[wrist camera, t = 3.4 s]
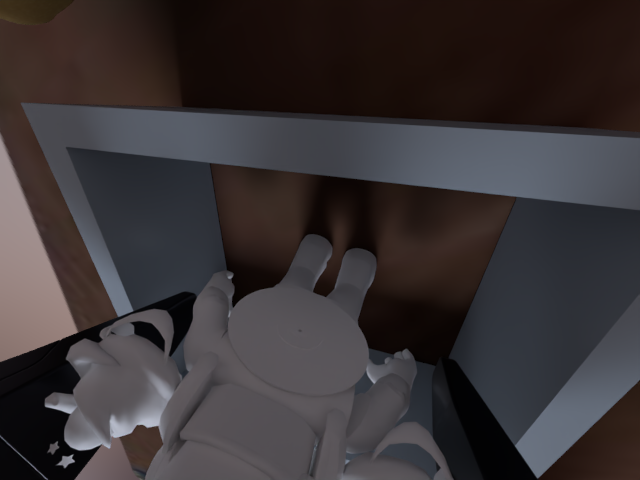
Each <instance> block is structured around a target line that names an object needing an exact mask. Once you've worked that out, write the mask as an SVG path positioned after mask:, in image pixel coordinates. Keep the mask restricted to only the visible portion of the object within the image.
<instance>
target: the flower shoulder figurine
mask: <svg viewBox="0 0 640 480" xmlns="http://www.w3.org/2000/svg"><path fill="white" fill-rule="evenodd" d="M331 256H332V246H331V244H330V242H329V241H328V240H327V239H326V238H324V237H322V236H319V235H315V234H309V235H306V236H305V238H304V239H303V240H302V241H301V243H300V245H299V248H298V251H297V252H296V254H295V257H294V259H293V261H292V263H291V266H290V268H289V271H288V272H287V274H286V275H285V277H284V278H283V279H282V281H281V282H280V283H279V284H276V285H275V287H274V288H267V289H262V290H258V291H255V292H253V293H251V294H249V295H247V296H245V297H244V298H242V299H241V300H240V301H239V302H238V303H237V304H236V305H235V307H234V308H233V307H232V296H233V294H234V288H235V287H234V285H233V283H232V280H231V279H230V278H232V277H233V273H232V272H230V271H226V270H225V271H221V272H217V273H214V274H213V276H212V278H211V280H210V281H209V282H208V283H207V284H206V286H205V287H204V289H203V290H202V292H201V293H200V294H199V295H198V297H197V299H196V301H195V303H194V305H193V320H192V323H191V326H190V328H189V331H188V333H187V336H186V338H185V341H184V345H183V350H184V360H185V364H186V369H187V370H188V371H189V372H188V374H187V375H186V376H185V377H184V378H183V380H182V375H181V374H180V373H179V371H178V368H177V365H176V362H175V361H174V360H173V359H172V358H171V357H170V356H168V355H169V352H170V349H171V344H172V339H173V334H174V329H173V322H172V318H171V316H170V315H169V314H168V312H167V311H165V310H159V309H151V310H147V311H143V312H139V313H135V314H131V315H129V316H127V317H125V318H123V319H121V320H118V321H116V322H115V323H114V324H113V325H111V326H108V327H105V328H104V329H102V330H101V332H100V335H99V336H100V337H101V338H102V339H103V340H102V341H101V342H100V343H96V342H93V341H91V340H88V339H83V340H81V341H79V342H78V343H76V344H74V345H72V346H71V347H70V350H69V352H68V355H67V357H66V360H68V361H69V362H70V363H71V365H72V366H73V367H74V369H75V370H76V371H77V373H78V374H79V376H80V378H81V380H80V381H79V382H78V384H77V385H76V387H75V388H74V390H73V393H74V394H64V393H56V392H54V393H52V394H51V395H50V396H48V397H47V398H45V407H49V408H53V409H57V410H61V411H63V412H66V413H69V414H71V415H70V416H69V419H68V421H67V423H66V426H65V429H64V438H65V441H66V443H67V444H68V445H69V446H70V447H72V448H74V449H77V450H89V449H93V448H95V447H97V446H99V445H101V444H103V445H104V446H106V447H108V448H109V449H110V446H111V441H112V438H111V436H113V437H114V438H116V437H120V436H124V435H127V434H130V433H132V431H133V430H134V428H135V427H136V425H142V424H143V425H144V426H146V427H147V428H148V427H153V426H159V430H160V433H161V437H162V441H163V446H162V447H161V448H160V450H159V451H158V452H157V454H156V455H155V457H154V459H153V460H152V462H151V464H150V467H149V469H148V471H147V474H146V478H145V480H432V479H431V478H430V476H429V475H428V473H427V472H426V470H424V469H423V468H421V467H419V466H417V465H415V464H413V463H411V462H409V461H407V460H403V459H399V458H395V457H391V456H386V455H382V454H379V453H380V452H382V451H383V450H384V449H385V448H386V447H387V446H388V445H390V444H398V443H411V444H418V445H419V446H420V447H422V448H423V449H424V450H426V451H427V452H428V453H430V454H431V455H432V457H433V458H434V459H435V461H436V462H437V463H438V465H439V466H440V467H441V468H440V470H439V471H438V472H437V473H436V474H435V476H434V479H433V480H454V479H453V477H452V475H451V472H450V470H449V467H448V465H447V462H446V460H445V457H444V455H443V454H442V452H441V451H440V449H439V447H438V446H437V444H436V443H435V441H434V439H433V438H432V436H431V434H430V433H429V431H428V430H426V429H425V428H424V427H422V426H421V425H420V424H418V423H417V422H403V423H402V424H400V425H398V426H396V427H395V425H396V423H397V422H398V421H399V420H400V418H401V417H402V416H403V415H405V414H406V412H407V410H408V408H409V404H410V391H411V389H412V384H413V380H414V378H415V376H416V374H417V367H416V362H415V359H414V357H413V355H412V354H411V352H410V351H409V350H408V349H405V350H403V351H402V352H401V351H400V352H396V353H395V354H394V359H392V358H391V357H387V358H386V359H385V364H382V365H375V364H373V362H372V360H370V359H369V350H368V345H367V342H366V339H365V337H364V335H363V333H362V331H361V329H360V328H359V326H358V317H359V315H360V311H361V308H362V304H363V300H364V298H365V295H366V292H367V290H368V288H369V287H370V286H371V284H372V282H373V280H374V276H375V272H376V267H377V262H376V257H375V256H374V255H373V254H372V253H371V252H369V251H367V250H364V249H360V248H353V249H350V250H348V251H346V253H345V255H344V257H343V259H342V266H341V269H340V271H339V275H338V278H337V281H336V285H335V288H334V290H333V291H332V292H331V293H330V294H329V295H328V296H327V297H324V296H321V295H318V294H316V293H313V289H314V287H315V284H316V282H317V280H318V278H319V276H320V275H321V274H322V273H323V271H324V270H325V268H326V267H327V261H328V260H329V259H330V257H331ZM228 317H229V320H228ZM136 321H143V322H148V323H152V324H153V325H154V326H155V327H156V328H157V329H158V330H159V332H160V333H161V335H162V337H163V338H164V340H165V352H163V351H162V350H161V349H160V348H158V347H157V346H156V345H154V344H153V343H152V342H150V341H149V340H148V339H146V338H143V337H140V336H138V335H135V334H134V325H132V324H131V323H130V322H136ZM227 322H228V328H227ZM111 331H112V332H113V333H115V334H116V335H115V334H111ZM365 371H367V375H368V377H369V378H370V379H371V381H372V382H373V383H374V384H373V386H372V387H371V388H370V389H369V390H368V391H367V392H366V393H365V394H364V393H360V394H357V395H355V396H354V393H355V384H356V383H357V382H358V381H359V380H360V379H361V377H362V376H363V375H364V373H365ZM394 427H395V428H394ZM57 443H58V441H57V442H56V443H55V444H50V449H49V450H48V452H51V453H52V454H54V452H55V450H56V449H58V448H59V447H58V446H57ZM315 445H316V447H315V449H314V446H315ZM375 449H376V450H375ZM373 450H375V452H374V453H372V452H369V451H373ZM48 452H47V453H48ZM346 452H348V453H353V454H357V453H363V454H362V455H360V456H358V457H356V458H354V459H352V460H351V461H349V462H348V463H347V464H345V462H346ZM73 455H74V454H73ZM73 455H71V456H69V457H65V456H62V461H61V462H60V463H58V464H57V465H63V466H64V468H66V466H67V465H68V464H70V463H73V462H75V461H74V460H73V459H72V457H73Z"/></svg>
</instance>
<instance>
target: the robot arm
mask: <svg viewBox="0 0 640 480" xmlns="http://www.w3.org/2000/svg"><path fill="white" fill-rule="evenodd" d="M196 299H197V296H196V294H195V293H192V292H188V291H184V292H181V293H178V294H176V295H173V296H171V297H168V298H166V299H163V300H160V301H158V302H155V303H153V304H150V305H148V306H145V307H143V308H140V309H137V310H135V311H132V312H130V313H127V314H125V315H122V316H119V317H117V318H114V319H112V320H109V321H107V322H104V323H102V324H99V325H96V326H94V327H91V328H89V329H86V330H84V331H81V332H79V333H76V334H73V335H71V336H68V337H66V338H63V339H62V340H58V341H56V342H53V343H50V344H48V345H45V346H43V347H40V348H37V349H35V350H33V351H29V352H27V353H24V354H22V355H19V356H16V357H13V358H10V359H8V360H5V361H2V362H0V480H74V479H75V478H76V477H77V476H78V474H79V473H80V472H81V471H82V469H83V468H84V467H85V465H86V464H87V463H88V462H89V460H90V459H91V458H92V457H93V455H94V454H95V453H96V452H97V450H98V449H99V448H100V446H101V445H102V444H101V445H99V446H97V447H95V448H93V449H89V450H77V449H74V448H72V447H70V446H69V445H68V444H67V443H66V441H65V438H64V429H65V426H66V423H67V421H68V419H69V416H70V415H71V414H69V413H66V412H63V411H61V410H57V409H53V408H49V407H45V398H47V397H48V396H50V395H51V394H52V393H54V392H56V393H64V394H74V393H73V390H74V388H75V387H76V385H77V384H78V382H79V381H80V380H81V378H80V376H79V374H78V373H77V371H76V370H75V369H74V367H73V366H72V365H71V363H70V362H69V361H68V360H66V357H67V355H68V352H69V350H70V347H71V346H72V345H74V344H76V343H78V342H79V341H81V340H83V339H88V340H91V341H93V342H96V343H100V342H101V341H102V340H103V339H102V338H101V337H100V336H99V335H100V332H101V330H102V329H104V328H105V327H108V326H111V325H113V324H114V323H115V322H116V321H118V320H121V319H123V318H125V317H127V316H129V315H131V314H135V313H139V312H143V311H147V310H151V309H159V310H165V311H167V312H168V314H169V315H170V316H171V318H172V322H173V329H174V334H173V339H172V344H171V349H170V352H169V355H168V356H170V357H171V356H172V355H173V353H174V352H175V351H176V349H177V348H178V346H179V345H180V343H181V342H182V340H183V339H184V337H185V335H186V334H187V332H188V331H189V328H190V326H191V323H192V320H193V305H194V303H195V301H196ZM130 323H131V324H132V325H134V334H135V335H138V336H140V337H143V338H146V339H148V340H149V341H150V342H152V343H153V344H154V345H156V346H157V347H158V348H160V349H161V350H162V351H163V352H165V340H164V338H163V337H162V335H161V333H160V332H159V330H158V329H157V328H156V327H155V326H154V325H153V324H152V323H148V322H143V321H136V322H130ZM111 334H115V333H113V332H112V331H111ZM115 335H116V334H115ZM432 426H433V439H434V441H435V443H436V444H437V446H438V447H439V449H440V451H441V452H442V454H443V455H444V457H445V460H446V462H447V465H448V467H449V470H450V472H451V475H452V477H453V479H454V480H538V478H537V477H536V475H535V474H534V473H533V471H532V470H531V468H530V467H529V465H528V464H527V462H526V461H525V460H524V458H523V457H522V455H521V454H520V452H519V451H518V449H517V448H516V447H515V445H514V444H513V442H512V441H511V439H510V438H509V436H508V435H507V434H506V432H505V431H504V429H503V428H502V426H501V425H500V423H499V422H498V421H497V419H496V418H495V416H494V415H493V413H492V412H491V410H490V409H489V408H488V406H487V405H486V403H485V402H484V400H483V399H482V397H481V396H480V395H479V393H478V392H477V390H476V389H475V387H474V386H473V384H472V383H471V382H470V380H469V379H468V377H467V376H466V374H465V373H464V371H463V370H462V369H461V367H460V366H459V364H458V363H457V362H456V361H455V360H454V359H450V358H446V357H440V358H439V359H438V362H437V364H436V367H435V369H434V372H433V375H432ZM57 441H58V443H57V446H58V447H59V448H58V449H56V450H55V452H54V454H52V453H51V452H48V450H49V449H50V444H55V443H56V442H57ZM47 452H48V453H47ZM73 454H74V455H73ZM71 455H73V457H72V459H73V460H74V461H75V462H73V463H70V464H68V465H67V466H66V468H64V466H63V465H57V464H58V463H60V462H61V461H62V456H65V457H69V456H71ZM440 468H441V467H440V466H439V465H438V463H437V462H436V470H437V472H438V471H439V470H440Z"/></svg>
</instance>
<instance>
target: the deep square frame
mask: <svg viewBox="0 0 640 480" xmlns="http://www.w3.org/2000/svg"><path fill="white" fill-rule="evenodd" d="M21 104H22V107H23V109H24V111H25V113H26V115H27V118H28V120H29V122H30V124H31V126H32V128H33V131H34V133H35V135H36V137H37V139H38V142H39V144H40V146H41V148H42V150H43V153H44V155H45V157H46V159H47V161H48V164H49V166H50V168H51V170H52V172H53V174H54V177H55V179H56V181H57V183H58V185H59V188H60V190H61V192H62V194H63V196H64V199H65V201H66V203H67V205H68V207H69V210H70V212H71V214H72V216H73V218H74V220H75V223H76V225H77V227H78V229H79V231H80V234H81V236H82V238H83V240H84V242H85V245H86V247H87V249H88V251H89V253H90V255H91V258H92V260H93V262H94V264H95V266H96V269H97V271H98V273H99V275H100V277H101V280H102V282H103V284H104V286H105V288H106V291H107V293H108V295H109V297H110V299H111V301H112V304H113V306H114V308H115V310H116V312H117V315H118V317H119V316H122V315H125V314H127V313H130V312H132V311H135V310H137V309H140V308H143V307H145V306H148V305H150V304H153V303H155V302H158V301H160V300H163V299H166V298H168V297H171V296H173V295H176V294H178V293H181V292H184V291H188V292H192V293H195V294H196V296H197V297H198V295H199V294H200V293H201V292H202V290H203V289H204V287H205V286H206V284H207V283H208V282H209V281H210V280H211V278H212V276H213V274H214V273H217V272H221V271H225V270H226V271H227V268H226V262H225V255H224V249H223V243H222V237H221V231H220V225H219V218H218V212H217V206H216V200H215V194H214V187H213V181H212V175H211V169H210V163H217V164H226V165H235V166H244V167H253V168H262V169H271V170H280V171H289V172H298V173H307V174H316V175H325V176H334V177H344V178H353V179H362V180H371V181H380V182H389V183H398V184H407V185H416V186H425V187H434V188H443V189H452V190H461V191H470V192H479V193H488V194H497V195H506V196H515V197H517V198H516V201H515V203H514V205H513V208H512V210H511V212H510V215H509V217H508V220H507V222H506V224H505V227H504V229H503V231H502V234H501V236H500V238H499V241H498V243H497V245H496V248H495V250H494V252H493V255H492V257H491V259H490V262H489V264H488V266H487V269H486V271H485V273H484V276H483V278H482V280H481V283H480V285H479V287H478V290H477V292H476V294H475V297H474V299H473V302H472V304H471V306H470V309H469V311H468V313H467V316H466V318H465V320H464V323H463V325H462V327H461V330H460V332H459V334H458V337H457V339H456V341H455V344H454V346H453V348H452V351H451V353H450V355H449V358H450V359H454V360H455V361H456V362H457V363H458V364H459V366H460V367H461V369H462V370H463V371H464V373H465V374H466V376H467V377H468V379H469V380H470V382H471V383H472V384H473V386H474V387H475V389H476V390H477V392H478V393H479V395H480V396H481V397H482V399H483V400H484V402H485V403H486V405H487V406H488V408H489V409H490V410H491V412H492V413H493V415H494V416H495V418H496V419H497V421H498V422H499V423H500V425H501V426H502V428H503V429H504V431H505V432H506V434H507V435H508V436H509V438H510V439H511V441H512V442H513V444H514V445H515V447H516V448H517V449H518V451H519V452H520V454H521V455H522V457H523V458H524V460H525V461H526V462H527V464H528V465H529V467H530V468H531V470H532V471H533V473H534V474H535V475H536V477H537V478H539V477H540V476H541V475H542V474H543V473H544V472H545V471H546V470H547V469H548V468H549V467H550V466H551V465H552V464H553V463H554V462H555V461H556V460H557V459H558V458H560V457H561V456H562V455H563V454H564V453H565V452H566V451H567V450H568V449H569V448H570V447H571V446H572V445H573V444H574V443H575V442H576V441H577V440H578V439H579V438H580V437H581V436H582V435H583V434H584V433H585V432H586V431H587V430H588V429H590V428H591V427H592V426H593V425H594V424H595V423H596V422H597V421H598V420H599V419H600V418H601V417H602V416H603V415H604V414H605V413H606V412H607V411H608V410H609V409H610V408H611V407H612V406H613V405H614V404H615V403H616V402H617V401H619V400H620V399H621V398H622V397H623V396H624V395H625V394H626V393H627V392H628V391H629V390H630V389H631V388H632V387H633V386H634V385H635V384H636V383H637V382H638V381H639V380H640V132H630V131H618V130H606V129H594V128H580V127H561V126H542V125H522V124H503V123H484V122H464V121H445V120H426V119H406V118H387V117H368V116H348V115H329V114H310V113H290V112H271V111H252V110H232V109H213V108H194V107H167V106H128V105H90V104H51V103H21ZM232 307H233V305H232ZM228 320H229V317H228ZM227 328H228V322H227ZM187 333H188V332H187ZM186 336H187V334H186V335H185V337H184V339H183V340H182V342H181V343H180V345H179V346H178V348H177V349H176V351H175V352H174V353H173V355H172V356H171V358H172V359H173V360H174V361H175V362H176V365H177V368H178V371H179V373H180V374H181V375H182V380H183V378H184V377H185V376H186V375H187V374H188V372H189V371H188V370H187V369H186V364H185V360H184V350H183V345H184V341H185V338H186ZM368 350H369V359H370V360H372V362H373V364H375V365H382V364H385V359H386V358H387V357H391V358H392V359H394V355H392V354H388V353H385V352H381V351H377V350H373V349H370V348H368ZM415 362H416V367H417V374H416V376H415V378H414V380H413V384H412V389H411V391H410V404H409V408H408V410H407V412H406V414H405V415H403V416H402V417H401V418H400V420H399V421H398V422H397V423H396V425H395V427H396V426H398V425H400V424H402V423H403V422H417V423H418V424H420V425H421V426H422V427H424V428H425V429H426V430H428V431H429V433H430V434H431V436H432V438H433V426H432V375H433V372H434V369H435V367H436V366H434V365H430V364H426V363H422V362H418V361H415ZM373 384H374V383H373V382H372V381H371V379H370V378H369V377H368V375H367V371H365V373H364V375H363V376H362V377H361V379H360V380H359V381H358V382H357V383H356V384H355V393H354V396H355V395H357V394H360V393H364V394H365V393H366V392H367V391H368V390H369V389H370V388H371V387H372V386H373ZM395 427H394V428H395ZM315 447H316V445H315V446H314V449H315ZM375 450H376V449H375ZM375 450H373V451H369V452H372V453H374V452H375ZM362 454H363V453H357V454H353V453H348V452H346V462H345V464H347V463H348V462H349V461H351V460H352V459H354V458H356V457H358V456H360V455H362ZM379 454H382V455H386V456H391V457H395V458H399V459H403V460H407V461H409V462H411V463H413V464H415V465H417V466H419V467H421V468H423V469H424V470H426V472H427V473H428V475H429V476H430V478H431V479H432V480H433V479H434V476H435V474H436V473H437V470H436V461H435V459H434V458H433V457H432V455H431V454H430V453H428V452H427V451H426V450H424V449H423V448H422V447H420V446H419V445H418V444H411V443H398V444H390V445H388V446H387V447H386V448H385V449H384V450H383V451H382V452H380V453H379Z"/></svg>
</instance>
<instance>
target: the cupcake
mask: <svg viewBox="0 0 640 480" xmlns="http://www.w3.org/2000/svg"><path fill="white" fill-rule="evenodd" d="M73 1H74V0H0V18H2V19H5V20H8V21H11V22H15V23H19V24H25V25H36V24H43V23H47V22H49V21H51V20H52V19H53V18H54V17H55V16H56V15H57V14H58V13H59V12H61V11H62V10H64V9H65V8H66V7H68V6H69V5H70V4H71V3H72V2H73Z"/></svg>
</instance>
